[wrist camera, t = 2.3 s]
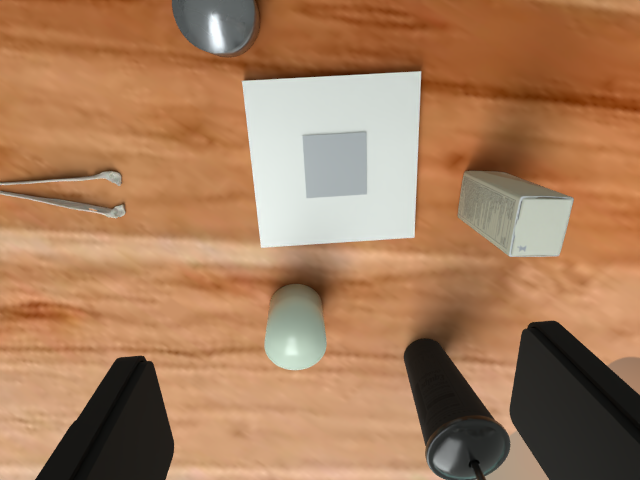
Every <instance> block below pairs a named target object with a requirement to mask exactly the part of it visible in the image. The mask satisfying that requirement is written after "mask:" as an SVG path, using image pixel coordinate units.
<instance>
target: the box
mask: <svg viewBox="0 0 640 480" xmlns="http://www.w3.org/2000/svg"><path fill="white" fill-rule="evenodd" d="M572 204H573V198H572V197H570V196H567V195H564V194H562V193H559V192H556V191H553V190H551V189H548V188H545V187H543V186H540V185H537V184H534V183H532V182H529V181H526V180H523V179H521V178H518V177H516V176H513V175H510V174H508V173H505V172H495V171H465V172H464V176H463V181H462V187H461V194H460V201H459V209H458V218H459V219H461V220H462V221H463V222H465V223H466V224H467V225H469V226H470V227H471V228H473V229H474V230H475V231H477V232H478V233H479V234H481V235H482V236H483V237H485V238H486V239H487V240H489V241H490V242H491V243H493V244H494V245H495V246H497V247H498V248H499V249H500V250H502V251H503V252H504V253H506V254H507V255H508V256H510V257H546V256H559V254H560V251H561V248H562V244H563V241H564V237H565V233H566V229H567V225H568V221H569V217H570V212H571V208H572Z"/></svg>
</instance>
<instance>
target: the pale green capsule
mask: <svg viewBox="0 0 640 480" xmlns="http://www.w3.org/2000/svg"><path fill="white" fill-rule="evenodd" d="M325 350H326V334H325V325H324V316H323V308H322V301H321V298H320V296H319V295H318V293H317V292H316V291H315V290H314V289H312V288H310V287H308V286H306V285H303V284H290V285H286V286H284V287H282V288H280V289H279V290H277V291H276V292H275V293H274V295H273V296H272V298H271V300H270V305H269V313H268V321H267V328H266V336H265V351H266V354H267V356H268V357H269V359H270V360H271V361H272V362H273V363H275V364H276V365H278V366H279V367H282V368H284V369H289V370H302V369H306V368H309V367H311V366H313V365H314V364H316V363H317V362H318V361H319V360H320V359H321V358H322V357H323V355H324V353H325Z"/></svg>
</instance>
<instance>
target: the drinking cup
mask: <svg viewBox="0 0 640 480" xmlns="http://www.w3.org/2000/svg"><path fill="white" fill-rule="evenodd" d="M404 362H405V366H406V370H407V374H408V378H409V382H410V386H411V390H412V393H413V397H414V401H415V405H416V409H417V413H418V417H419V421H420V425H421V429H422V433H423V437H424V441H425V445H426V449H425V456H426V461H427V463H428V466H429V468H430V469H431V470H432V471H433V472H434V473H435V474H436V475H437V476H439V477H441V478H443V479H446V480H476V479H477V480H486V479H485V476H486V475H488V474H490V473H492V472H493V471H495V470H496V469H497V468H498V467H499V466H500V465H501V464H502V463H503V462H504V461H505V459H506V457H507V456H508V453H509V450H510V439H509V435H508V433H507V432H506V430H505V429H504V427H503V426H502V425H501V424H500V423H498V422H497V421H495V420H494V418H493V417H492V415H491V414H490V413H489V411H488V410H487V409H486V407H485V406H484V404H483V403H482V402H481V400H480V399H479V398H478V396H477V395H476V393H475V392H474V391H473V389H472V388H471V387H470V385H469V384H468V382H467V381H466V380H465V378H464V377H463V376H462V374H461V373H460V371H459V370H458V369H457V367H456V366H455V365H454V363H453V362H452V361H451V359H450V358H449V356H448V355H447V354H446V352H445V351H444V350H443V348H442V347H441V345H440V344H439V343H438V342H436V341H434V340H431V339H420V340H417V341H415V342H413V343H412V344H410V345H409V346H408V348H407V349H406V351H405V353H404Z"/></svg>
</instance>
